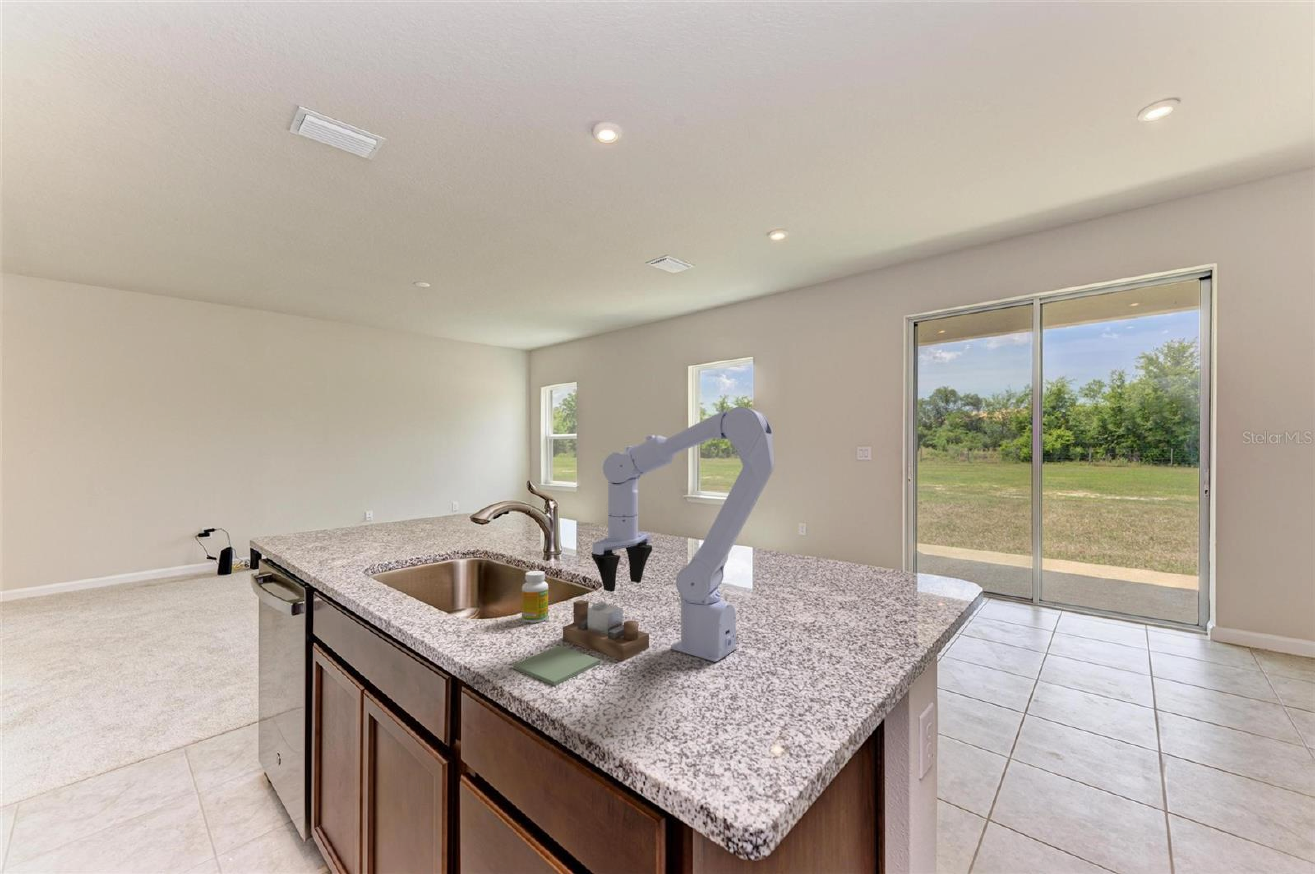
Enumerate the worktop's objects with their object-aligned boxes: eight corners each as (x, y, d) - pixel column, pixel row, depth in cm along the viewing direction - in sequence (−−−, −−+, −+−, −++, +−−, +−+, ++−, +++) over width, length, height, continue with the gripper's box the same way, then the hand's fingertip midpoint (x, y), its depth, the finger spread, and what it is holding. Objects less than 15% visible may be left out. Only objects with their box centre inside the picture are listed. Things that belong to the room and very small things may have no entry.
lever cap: (622, 630, 92) (622, 604, 92) (607, 636, 89) (607, 610, 89) (602, 624, 95) (602, 599, 95) (587, 630, 92) (587, 605, 92)
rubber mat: (600, 663, 83) (600, 659, 84) (554, 685, 76) (554, 681, 76) (559, 648, 90) (559, 645, 90) (513, 668, 82) (513, 664, 82)
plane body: (649, 647, 90) (649, 611, 90) (623, 660, 84) (623, 622, 85) (589, 629, 99) (589, 596, 99) (562, 640, 93) (562, 605, 94)
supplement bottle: (541, 624, 102) (541, 576, 102) (517, 622, 103) (517, 575, 103) (552, 616, 107) (552, 570, 107) (528, 614, 108) (529, 569, 109)
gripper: (632, 509, 104) (631, 575, 104) (580, 517, 93) (580, 590, 93) (658, 512, 100) (658, 580, 100) (608, 520, 89) (608, 597, 88)
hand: (622, 586), depth 96 cm, fingers open, 7 cm apart
